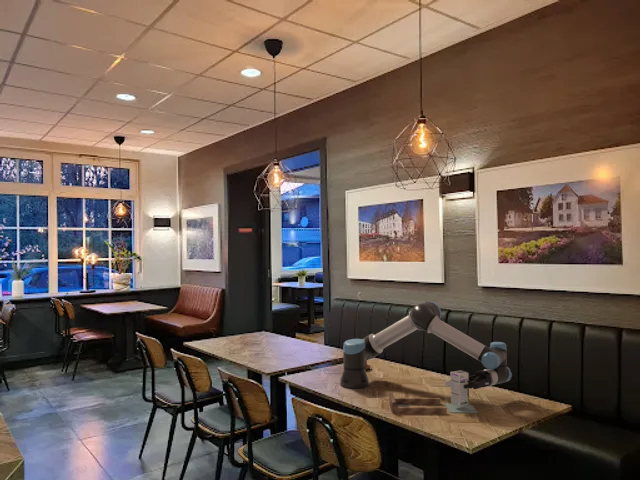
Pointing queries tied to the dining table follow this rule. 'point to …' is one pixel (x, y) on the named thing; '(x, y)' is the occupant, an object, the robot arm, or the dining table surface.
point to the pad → (461, 408)
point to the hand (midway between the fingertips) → (451, 385)
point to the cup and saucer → (367, 366)
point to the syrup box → (463, 395)
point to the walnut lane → (403, 408)
